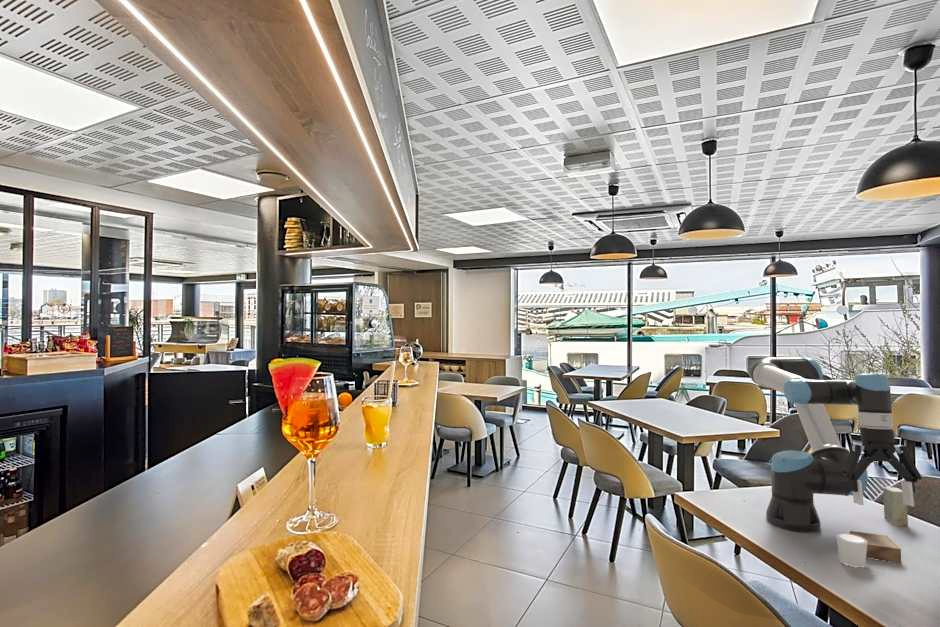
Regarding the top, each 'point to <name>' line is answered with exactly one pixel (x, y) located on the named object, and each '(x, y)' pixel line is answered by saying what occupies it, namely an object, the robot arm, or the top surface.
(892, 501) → the box
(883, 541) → the walnut block
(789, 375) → the robot arm
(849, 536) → the white cylinder
